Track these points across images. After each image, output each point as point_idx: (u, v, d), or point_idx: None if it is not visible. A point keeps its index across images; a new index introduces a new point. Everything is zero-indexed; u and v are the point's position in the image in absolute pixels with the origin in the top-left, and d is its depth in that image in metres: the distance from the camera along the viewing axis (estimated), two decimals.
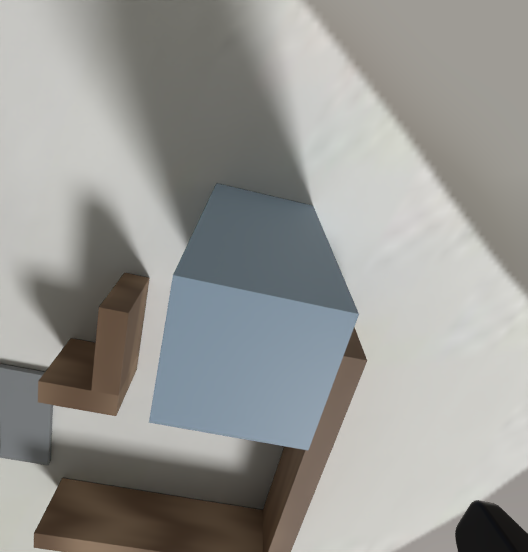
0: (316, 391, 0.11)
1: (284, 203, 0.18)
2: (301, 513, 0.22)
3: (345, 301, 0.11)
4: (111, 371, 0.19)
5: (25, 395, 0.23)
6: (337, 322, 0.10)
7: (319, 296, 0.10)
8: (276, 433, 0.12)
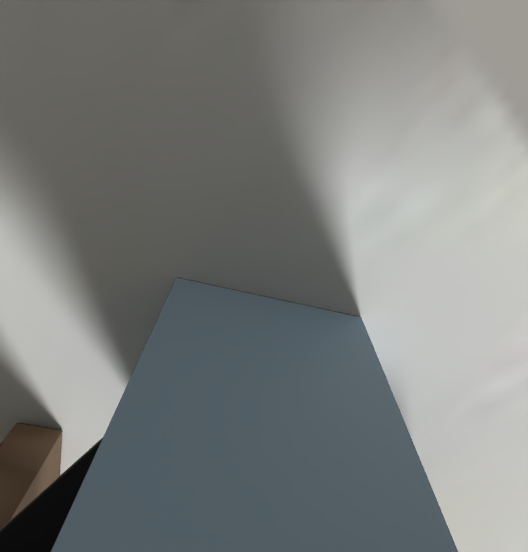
0: None
1: (308, 323, 0.09)
2: None
3: None
4: None
5: None
6: None
7: None
8: None
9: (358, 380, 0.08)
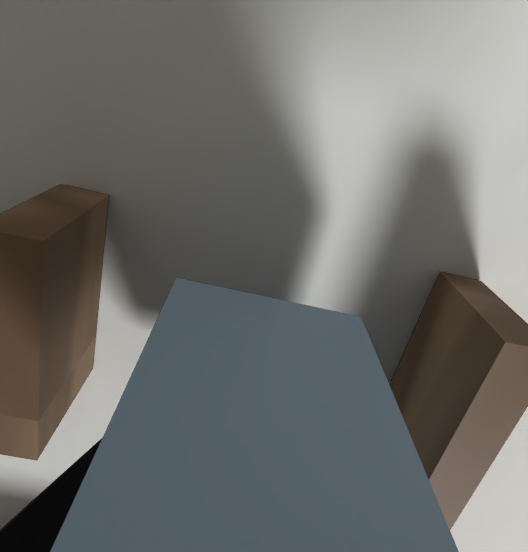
0: None
1: (309, 323, 0.09)
2: None
3: None
4: (18, 372, 0.09)
5: None
6: None
7: None
8: None
9: (358, 380, 0.08)
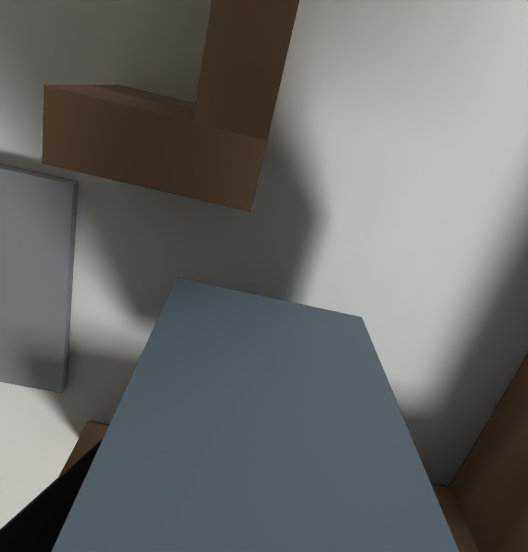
0: None
1: (309, 323, 0.09)
2: None
3: None
4: (258, 48, 0.06)
5: (16, 232, 0.11)
6: None
7: None
8: None
9: (359, 380, 0.08)
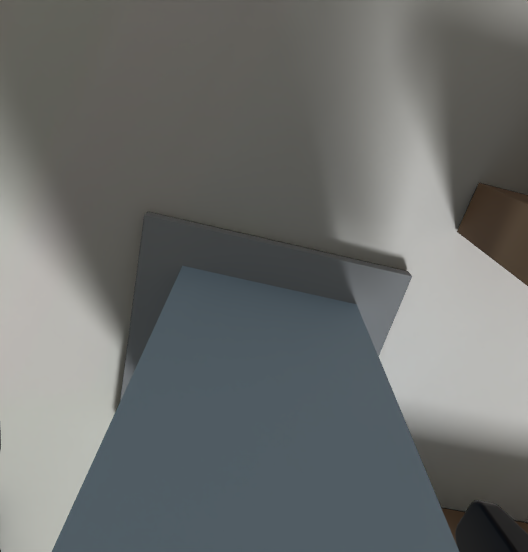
0: None
1: (307, 308, 0.10)
2: None
3: None
4: None
5: None
6: None
7: None
8: None
9: (352, 359, 0.08)
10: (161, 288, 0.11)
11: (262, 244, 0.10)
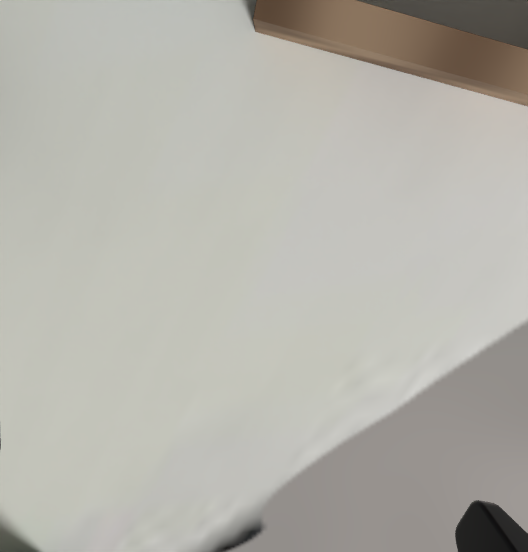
0: None
1: None
2: None
3: None
4: None
5: None
6: None
7: None
8: None
9: None
10: None
11: None
